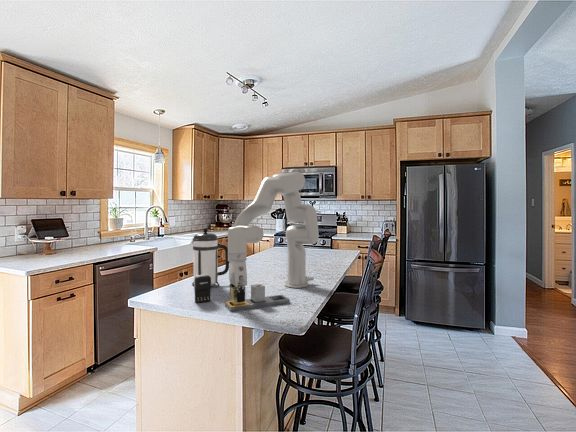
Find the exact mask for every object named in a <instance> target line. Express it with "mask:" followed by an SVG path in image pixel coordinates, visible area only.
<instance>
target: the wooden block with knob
mask: <svg viewBox="0 0 576 432" xmlns="http://www.w3.org/2000/svg"><path fill="white" fill-rule="evenodd" d="M239 289H240V287H239ZM237 292H238V290H237V287H231V286H229V296H230V300H229V301H230V302H231V305H232V306H236V305H243V304H244V302H237Z"/></svg>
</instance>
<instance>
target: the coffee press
mask: <svg viewBox="0 0 576 432" xmlns="http://www.w3.org/2000/svg"><path fill="white" fill-rule="evenodd" d="M208 230H209V229H208V228H207V227H204V228H203V232H201V233H197V234H195V235H193V238H192V239H191V242H190V243H189V245H191V246H192V245H193V246H192V250H193V256H192V257H193V280H194V279H195V277H196V276H198V275H209V276H210V277H211V286H214V287H215V288H220V284H219V281H218V277H219V276H223V275H226V274H227V273H229V272H228V271H229V264H230V262H229V261H228V246H226V245H223V244H218V242H219V238H218V236H217V234H216V233H212V232H208ZM218 249H223V250H224V253H225V255H224V256H225V267H224V269H223V270H222V271H219V269H218V261H219V260H218V255H219V254H218V251H219V250H218ZM191 284H192V286H193V287H194V281H193V282H192V283H191Z"/></svg>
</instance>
